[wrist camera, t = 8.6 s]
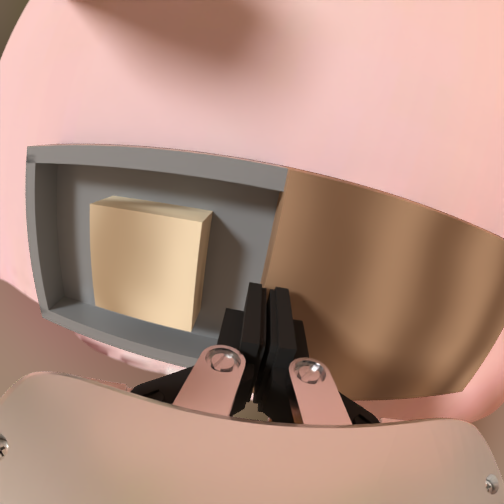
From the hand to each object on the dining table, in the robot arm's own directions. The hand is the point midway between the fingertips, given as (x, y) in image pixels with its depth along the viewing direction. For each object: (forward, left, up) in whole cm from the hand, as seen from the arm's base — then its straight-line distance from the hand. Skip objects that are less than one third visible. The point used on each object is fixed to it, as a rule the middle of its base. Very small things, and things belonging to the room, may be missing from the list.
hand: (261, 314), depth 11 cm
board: (-9, 0, -5) cm, 10 cm away
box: (+8, 0, -5) cm, 9 cm away
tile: (+6, 0, -1) cm, 6 cm away
